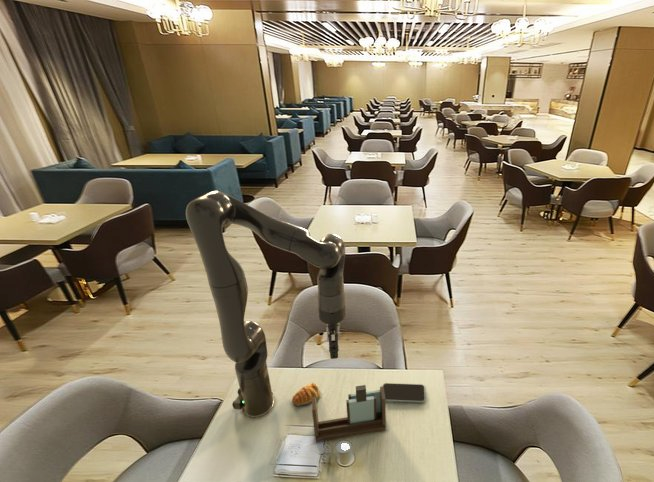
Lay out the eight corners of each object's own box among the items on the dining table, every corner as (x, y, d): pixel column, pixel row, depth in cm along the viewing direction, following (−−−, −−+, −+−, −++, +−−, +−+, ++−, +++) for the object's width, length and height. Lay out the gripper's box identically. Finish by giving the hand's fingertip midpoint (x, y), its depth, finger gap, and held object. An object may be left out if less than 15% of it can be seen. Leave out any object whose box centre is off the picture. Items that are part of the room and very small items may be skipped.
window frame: (315, 425, 114) (312, 395, 108) (382, 414, 118) (382, 385, 112) (315, 442, 109) (311, 411, 103) (385, 430, 113) (385, 400, 107)
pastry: (297, 411, 118) (296, 403, 117) (289, 398, 123) (288, 390, 122) (322, 397, 124) (321, 389, 122) (313, 385, 129) (312, 377, 127)
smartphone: (425, 401, 122) (381, 399, 122) (424, 403, 122) (381, 401, 122) (424, 384, 129) (383, 382, 129) (424, 386, 129) (383, 384, 129)
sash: (347, 421, 113) (345, 387, 107) (375, 416, 115) (375, 383, 109) (348, 426, 112) (345, 392, 105) (376, 421, 113) (376, 387, 107)
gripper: (318, 290, 105) (321, 333, 111) (317, 320, 92) (321, 366, 99) (343, 288, 106) (345, 331, 113) (346, 317, 93) (347, 363, 100)
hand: (333, 347), depth 106 cm, fingers open, 8 cm apart
